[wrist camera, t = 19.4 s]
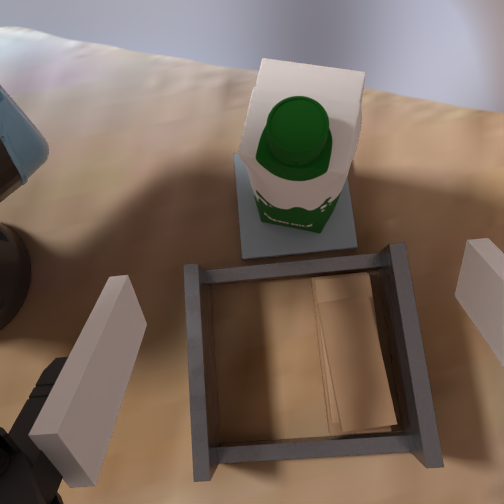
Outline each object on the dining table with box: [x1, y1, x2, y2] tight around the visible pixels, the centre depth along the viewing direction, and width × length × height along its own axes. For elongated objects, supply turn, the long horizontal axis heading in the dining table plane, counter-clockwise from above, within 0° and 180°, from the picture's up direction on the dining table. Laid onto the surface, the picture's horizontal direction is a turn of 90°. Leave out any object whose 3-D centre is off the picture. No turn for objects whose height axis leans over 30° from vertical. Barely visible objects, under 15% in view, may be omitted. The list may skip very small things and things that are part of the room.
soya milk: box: [238, 58, 366, 233], centre depth 34 cm, size 9×9×20 cm
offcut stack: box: [311, 272, 397, 435], centre depth 39 cm, size 6×16×5 cm, turn 5°
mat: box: [234, 153, 358, 260], centre depth 44 cm, size 13×13×1 cm
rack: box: [183, 242, 444, 482], centre depth 38 cm, size 22×20×6 cm
